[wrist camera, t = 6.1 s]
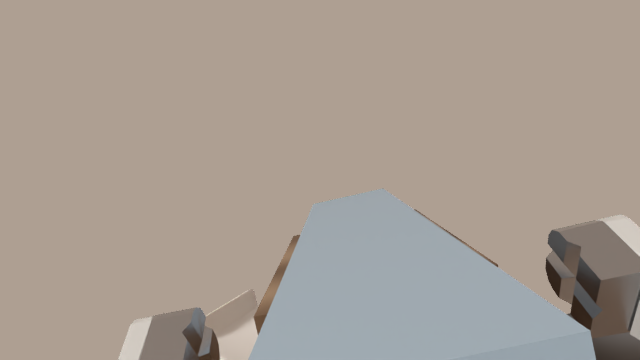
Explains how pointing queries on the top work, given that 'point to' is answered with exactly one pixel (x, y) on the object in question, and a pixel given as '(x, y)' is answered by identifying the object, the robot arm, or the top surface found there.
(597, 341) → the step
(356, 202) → the slat
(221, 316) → the milk
